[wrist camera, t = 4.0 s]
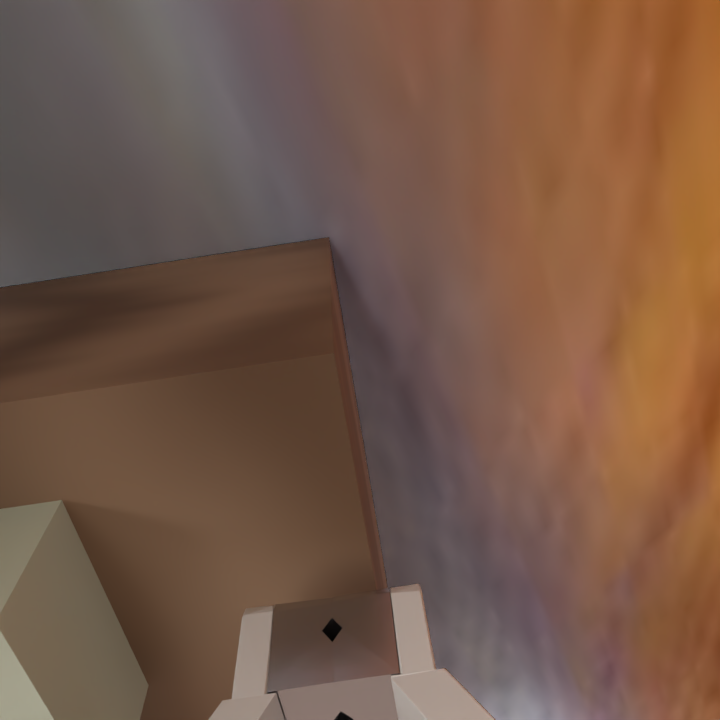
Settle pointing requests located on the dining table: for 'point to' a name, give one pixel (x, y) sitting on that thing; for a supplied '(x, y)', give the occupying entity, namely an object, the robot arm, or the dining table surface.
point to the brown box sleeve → (193, 448)
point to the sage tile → (59, 626)
